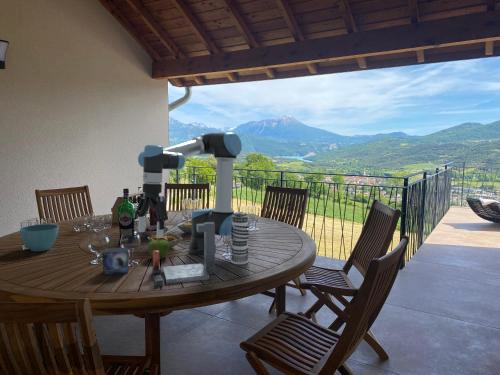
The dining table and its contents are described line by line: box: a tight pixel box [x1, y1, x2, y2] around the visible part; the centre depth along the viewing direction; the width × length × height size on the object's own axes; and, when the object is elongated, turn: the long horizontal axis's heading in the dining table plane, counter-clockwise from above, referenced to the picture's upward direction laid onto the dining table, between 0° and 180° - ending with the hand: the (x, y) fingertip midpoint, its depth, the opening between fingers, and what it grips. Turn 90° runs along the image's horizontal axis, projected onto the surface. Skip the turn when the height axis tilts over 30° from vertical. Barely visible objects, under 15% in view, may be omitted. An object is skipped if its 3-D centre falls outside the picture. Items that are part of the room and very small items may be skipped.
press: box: [152, 222, 216, 288], centre depth 153 cm, size 18×26×23 cm
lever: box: [151, 250, 162, 275], centre depth 154 cm, size 4×4×10 cm
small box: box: [102, 246, 130, 276], centre depth 156 cm, size 11×6×10 cm, turn 105°
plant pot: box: [19, 223, 60, 253], centre depth 189 cm, size 18×18×12 cm
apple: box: [147, 239, 171, 260], centre depth 177 cm, size 11×10×10 cm
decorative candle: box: [230, 211, 250, 265], centre depth 173 cm, size 9×9×25 cm
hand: (150, 234), depth 143 cm, fingers open, 13 cm apart
